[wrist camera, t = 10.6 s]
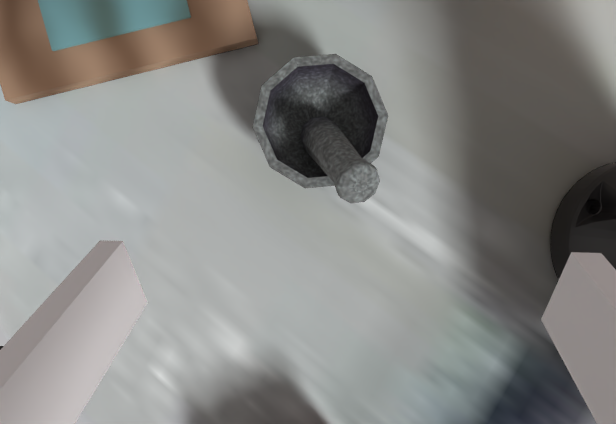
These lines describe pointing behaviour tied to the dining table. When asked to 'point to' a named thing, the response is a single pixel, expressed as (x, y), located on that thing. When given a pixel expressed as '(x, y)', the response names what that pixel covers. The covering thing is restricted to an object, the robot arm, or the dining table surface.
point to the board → (109, 40)
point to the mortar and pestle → (322, 125)
